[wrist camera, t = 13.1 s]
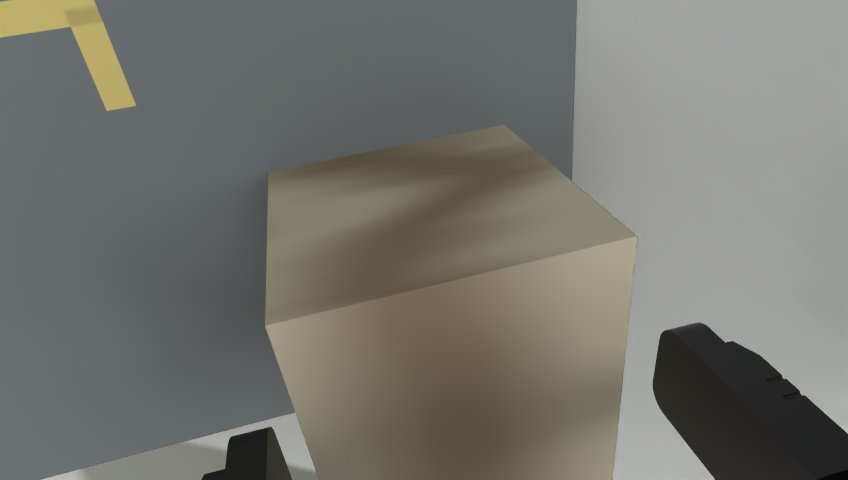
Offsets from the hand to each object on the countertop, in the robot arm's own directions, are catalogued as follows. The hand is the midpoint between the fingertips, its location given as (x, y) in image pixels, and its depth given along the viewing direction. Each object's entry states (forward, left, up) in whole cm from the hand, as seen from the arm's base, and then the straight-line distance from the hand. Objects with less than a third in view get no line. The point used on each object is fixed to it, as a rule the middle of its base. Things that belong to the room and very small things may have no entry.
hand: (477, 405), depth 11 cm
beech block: (0, 0, -5) cm, 5 cm away
